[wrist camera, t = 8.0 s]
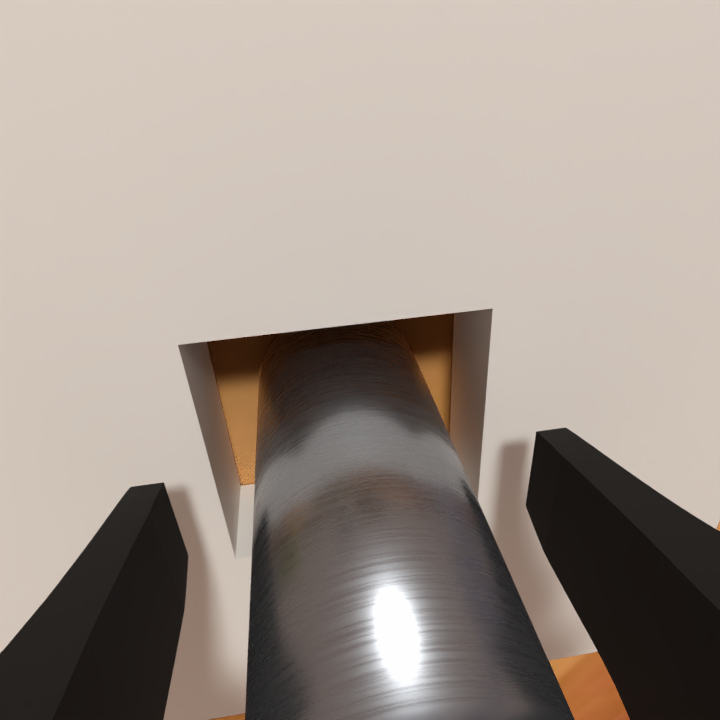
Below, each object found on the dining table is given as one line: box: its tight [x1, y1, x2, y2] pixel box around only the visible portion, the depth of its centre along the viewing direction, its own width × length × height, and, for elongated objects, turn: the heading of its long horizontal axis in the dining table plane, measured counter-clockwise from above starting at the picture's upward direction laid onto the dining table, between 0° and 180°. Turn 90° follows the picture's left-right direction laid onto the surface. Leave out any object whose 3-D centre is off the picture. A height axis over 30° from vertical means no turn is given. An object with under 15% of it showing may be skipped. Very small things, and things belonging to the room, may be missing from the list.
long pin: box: [245, 321, 574, 720], centre depth 10 cm, size 4×4×9 cm
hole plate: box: [0, 0, 720, 720], centre depth 13 cm, size 20×20×2 cm
